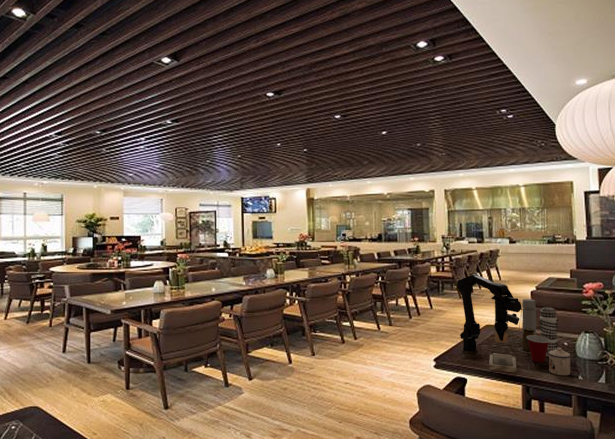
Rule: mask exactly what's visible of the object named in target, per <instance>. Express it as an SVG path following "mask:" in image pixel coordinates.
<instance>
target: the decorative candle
mask: <svg viewBox="0 0 615 439" xmlns="http://www.w3.org/2000/svg"><path fill="white" fill-rule="evenodd" d="M539 312H540V316H539V318H538V323H539V329H538V330H539V333H540V336H543V337H546V338H548V339H550V342H549V344H548V347H547V353H546V357H549V352H550V351H554V350H557V348H559V345H558V339H557V338H558V337H557V335H558V328H559V326H558V325H559V323H558V321H559V320H558V317H557V312H558V311H557V310H556V309H555V308H554V307H547V306H546V307H543V308H541V309H540V310H539Z"/></svg>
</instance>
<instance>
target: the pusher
mask: <svg viewBox="0 0 615 439" xmlns="http://www.w3.org/2000/svg"><path fill="white" fill-rule="evenodd" d="M492 355H493V364H494V365H503V366H512V357H513V356H512V354H502V353H495V352H493V353H492ZM512 367H513V366H512Z"/></svg>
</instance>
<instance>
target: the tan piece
mask: <svg viewBox="0 0 615 439" xmlns="http://www.w3.org/2000/svg"><path fill="white" fill-rule="evenodd" d="M488 363H489V364H488V367H489V370H490V371H499V372H507V373H514V374H515V373H516V374H517V369H518V368H517V360H516V356H512V366H509V365H506V366H503V365H499V364H494V360H493V353H492V354H491V353H490V354H489V362H488Z"/></svg>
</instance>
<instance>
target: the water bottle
mask: <svg viewBox="0 0 615 439" xmlns="http://www.w3.org/2000/svg"><path fill="white" fill-rule="evenodd" d="M521 306H522V307H521V310H520V317H519V319H520V320H522V327H521V323H518V324H519V325H518V326H519V327H518V331H519V333H521V334H523V333H524V329H525V328H530V329H533V330H534V335H537V316H536V315H537V311H536V309H537V307H536V300H535V299H529V298H523V299H522V303H521ZM520 328H521V329H520Z"/></svg>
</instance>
